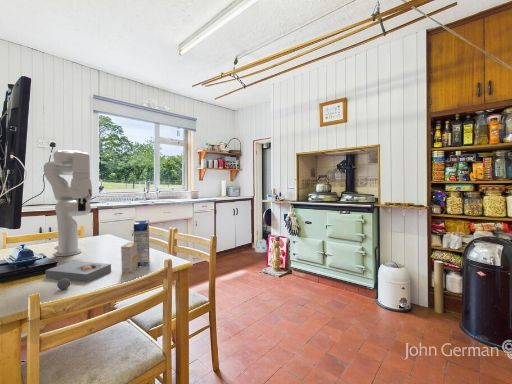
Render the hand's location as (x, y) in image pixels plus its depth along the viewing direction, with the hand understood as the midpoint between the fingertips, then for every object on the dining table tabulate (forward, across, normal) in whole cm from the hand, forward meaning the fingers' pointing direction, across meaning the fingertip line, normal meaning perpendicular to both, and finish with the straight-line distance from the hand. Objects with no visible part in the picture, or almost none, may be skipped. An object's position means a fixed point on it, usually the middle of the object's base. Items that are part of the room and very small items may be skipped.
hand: (81, 210), depth 140 cm
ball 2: (+25, +19, -15) cm, 34 cm away
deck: (+27, +15, -15) cm, 34 cm away
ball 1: (+24, +23, -30) cm, 45 cm away
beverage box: (+27, +32, +6) cm, 42 cm away
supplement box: (+27, +33, -5) cm, 43 cm away
